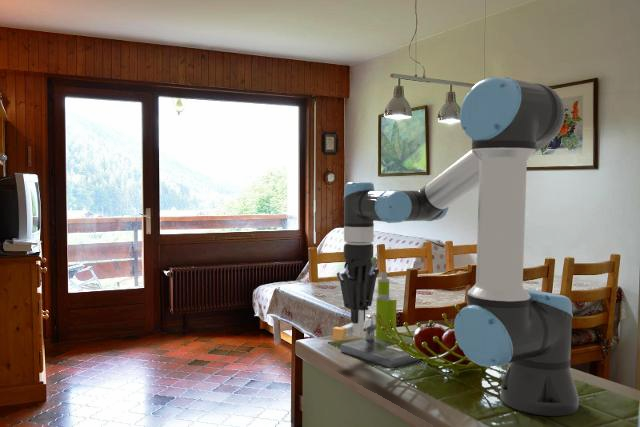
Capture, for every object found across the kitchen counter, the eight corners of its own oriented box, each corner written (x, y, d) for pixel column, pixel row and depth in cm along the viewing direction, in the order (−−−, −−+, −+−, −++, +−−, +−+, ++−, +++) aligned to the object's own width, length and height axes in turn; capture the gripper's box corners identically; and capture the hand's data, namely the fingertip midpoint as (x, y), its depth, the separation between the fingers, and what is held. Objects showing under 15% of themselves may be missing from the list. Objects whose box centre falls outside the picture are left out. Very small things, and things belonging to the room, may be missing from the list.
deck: (422, 359, 151) (422, 339, 151) (390, 367, 144) (390, 346, 143) (372, 344, 165) (372, 325, 165) (340, 351, 157) (340, 332, 157)
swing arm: (342, 343, 145) (343, 329, 145) (331, 341, 147) (331, 327, 147) (377, 327, 162) (378, 314, 162) (367, 325, 164) (367, 313, 163)
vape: (380, 339, 171) (382, 270, 170) (397, 342, 167) (399, 273, 166) (373, 341, 168) (374, 272, 167) (390, 345, 164) (391, 274, 163)
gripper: (366, 240, 156) (365, 328, 157) (329, 243, 147) (329, 336, 148) (387, 242, 150) (386, 334, 151) (350, 245, 142) (349, 342, 143)
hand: (357, 335), depth 150 cm, fingers closed
